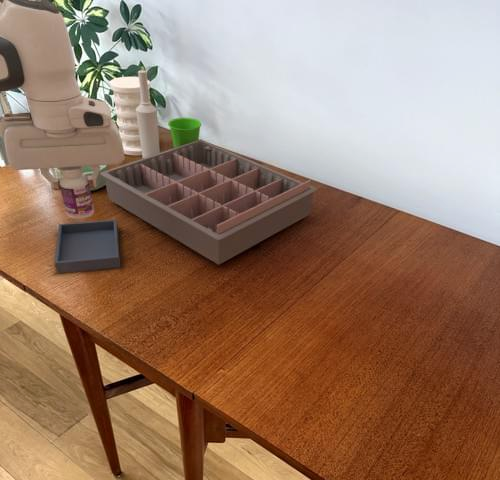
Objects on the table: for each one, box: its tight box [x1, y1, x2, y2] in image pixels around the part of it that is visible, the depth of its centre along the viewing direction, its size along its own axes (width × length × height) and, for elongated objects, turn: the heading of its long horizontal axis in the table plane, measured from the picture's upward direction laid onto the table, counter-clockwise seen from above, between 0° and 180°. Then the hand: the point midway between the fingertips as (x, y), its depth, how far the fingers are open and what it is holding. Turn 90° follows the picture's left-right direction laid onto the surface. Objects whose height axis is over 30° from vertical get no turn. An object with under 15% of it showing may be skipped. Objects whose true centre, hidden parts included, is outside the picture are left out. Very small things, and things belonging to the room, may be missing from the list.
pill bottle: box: [59, 166, 95, 220], centre depth 90 cm, size 5×5×10 cm
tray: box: [54, 219, 121, 274], centre depth 98 cm, size 12×15×2 cm
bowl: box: [53, 165, 110, 192], centre depth 120 cm, size 13×13×5 cm
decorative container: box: [109, 76, 151, 157], centre depth 133 cm, size 12×12×18 cm
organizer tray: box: [100, 138, 318, 265], centre depth 109 cm, size 32×40×10 cm
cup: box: [167, 117, 202, 148], centre depth 129 cm, size 9×9×11 cm
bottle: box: [136, 69, 161, 159], centre depth 119 cm, size 5×5×25 cm
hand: (75, 187), depth 89 cm, fingers closed on pill bottle, 5 cm apart
